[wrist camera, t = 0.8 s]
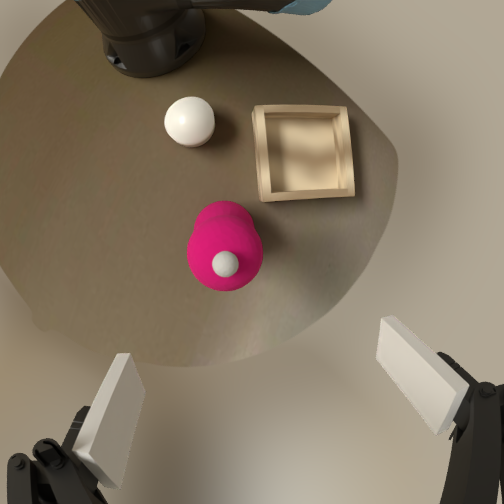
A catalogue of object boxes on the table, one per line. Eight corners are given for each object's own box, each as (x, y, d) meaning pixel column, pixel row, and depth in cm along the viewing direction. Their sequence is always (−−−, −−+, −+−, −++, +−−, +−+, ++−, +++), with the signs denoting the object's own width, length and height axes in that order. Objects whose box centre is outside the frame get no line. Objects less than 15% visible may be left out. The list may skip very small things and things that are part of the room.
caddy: (251, 113, 35) (255, 105, 31) (335, 113, 36) (346, 106, 32) (259, 200, 37) (263, 202, 34) (342, 195, 38) (354, 196, 34)
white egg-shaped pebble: (169, 109, 33) (163, 100, 30) (213, 103, 34) (212, 94, 30) (171, 150, 35) (166, 146, 31) (216, 144, 35) (215, 140, 31)
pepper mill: (228, 188, 37) (234, 187, 17) (261, 230, 38) (301, 274, 19) (186, 222, 37) (148, 259, 18) (219, 263, 39) (218, 336, 19)
